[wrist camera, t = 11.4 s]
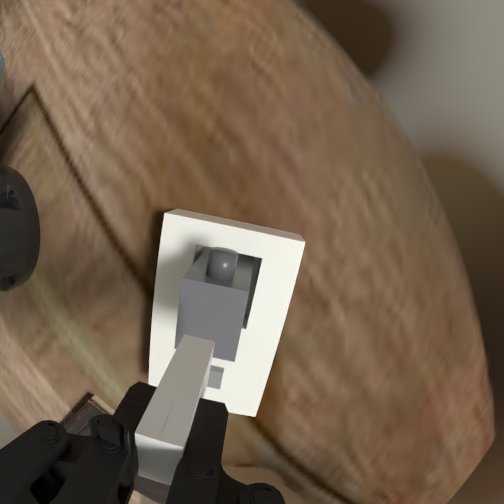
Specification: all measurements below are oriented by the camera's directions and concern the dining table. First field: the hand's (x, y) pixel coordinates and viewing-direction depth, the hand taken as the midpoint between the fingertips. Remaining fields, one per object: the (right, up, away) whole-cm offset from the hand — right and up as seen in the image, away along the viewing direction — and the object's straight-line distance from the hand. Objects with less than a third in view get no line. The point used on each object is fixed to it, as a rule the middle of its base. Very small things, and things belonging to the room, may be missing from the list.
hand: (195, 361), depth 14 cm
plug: (0, +3, +13) cm, 13 cm away
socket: (0, -1, +14) cm, 14 cm away
